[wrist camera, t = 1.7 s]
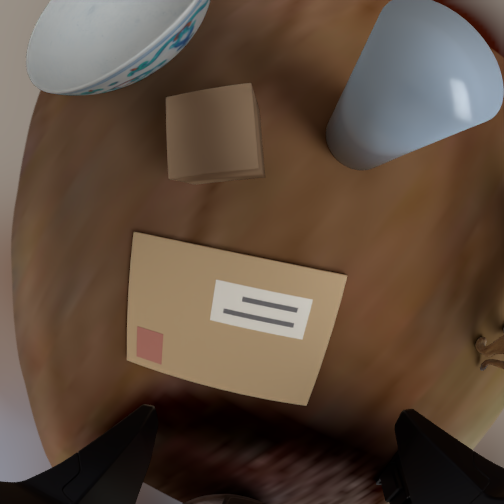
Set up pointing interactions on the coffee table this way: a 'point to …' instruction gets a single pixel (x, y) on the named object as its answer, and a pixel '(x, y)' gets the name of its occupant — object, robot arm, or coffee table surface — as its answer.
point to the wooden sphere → (223, 499)
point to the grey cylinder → (413, 85)
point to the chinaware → (107, 42)
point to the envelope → (229, 318)
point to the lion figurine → (491, 351)
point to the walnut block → (214, 135)
